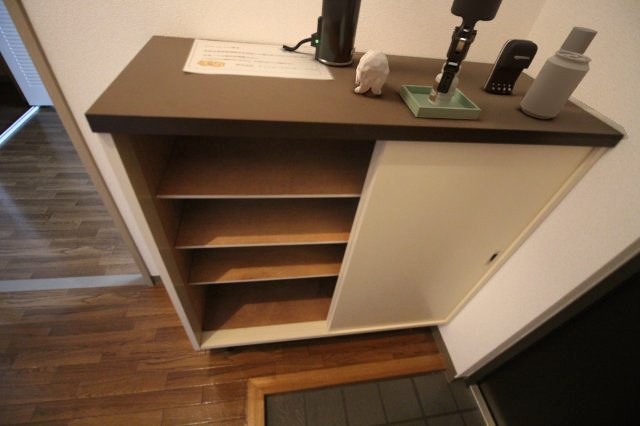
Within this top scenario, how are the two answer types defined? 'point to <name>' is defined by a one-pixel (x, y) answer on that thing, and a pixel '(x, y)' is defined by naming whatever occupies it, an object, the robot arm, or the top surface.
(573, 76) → the can
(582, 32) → the container
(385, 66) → the white bear figurine
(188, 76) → the top surface
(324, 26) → the robot arm
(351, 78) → the top surface
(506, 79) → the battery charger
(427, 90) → the tray
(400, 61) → the top surface
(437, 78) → the pill bottle
